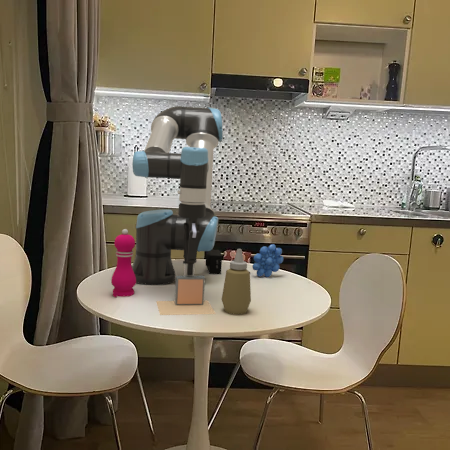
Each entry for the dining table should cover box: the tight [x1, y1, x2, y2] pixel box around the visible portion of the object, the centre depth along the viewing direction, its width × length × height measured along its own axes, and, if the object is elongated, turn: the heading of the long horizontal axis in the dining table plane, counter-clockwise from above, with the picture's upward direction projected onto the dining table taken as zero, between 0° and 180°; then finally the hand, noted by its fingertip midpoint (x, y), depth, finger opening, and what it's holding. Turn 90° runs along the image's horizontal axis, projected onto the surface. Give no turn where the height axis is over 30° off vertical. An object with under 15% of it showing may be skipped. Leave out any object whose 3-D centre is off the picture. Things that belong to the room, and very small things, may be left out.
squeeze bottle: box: [221, 248, 252, 315], centre depth 141 cm, size 8×8×18 cm
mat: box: [155, 300, 216, 316], centre depth 142 cm, size 12×15×1 cm
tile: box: [174, 275, 206, 305], centre depth 145 cm, size 2×8×8 cm, turn 102°
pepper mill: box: [110, 228, 137, 298], centre depth 151 cm, size 7×7×20 cm
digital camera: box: [205, 249, 223, 275], centre depth 188 cm, size 10×5×7 cm, turn 7°
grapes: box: [252, 243, 284, 278], centre depth 184 cm, size 12×7×12 cm, turn 108°
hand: (188, 285), depth 146 cm, fingers closed
